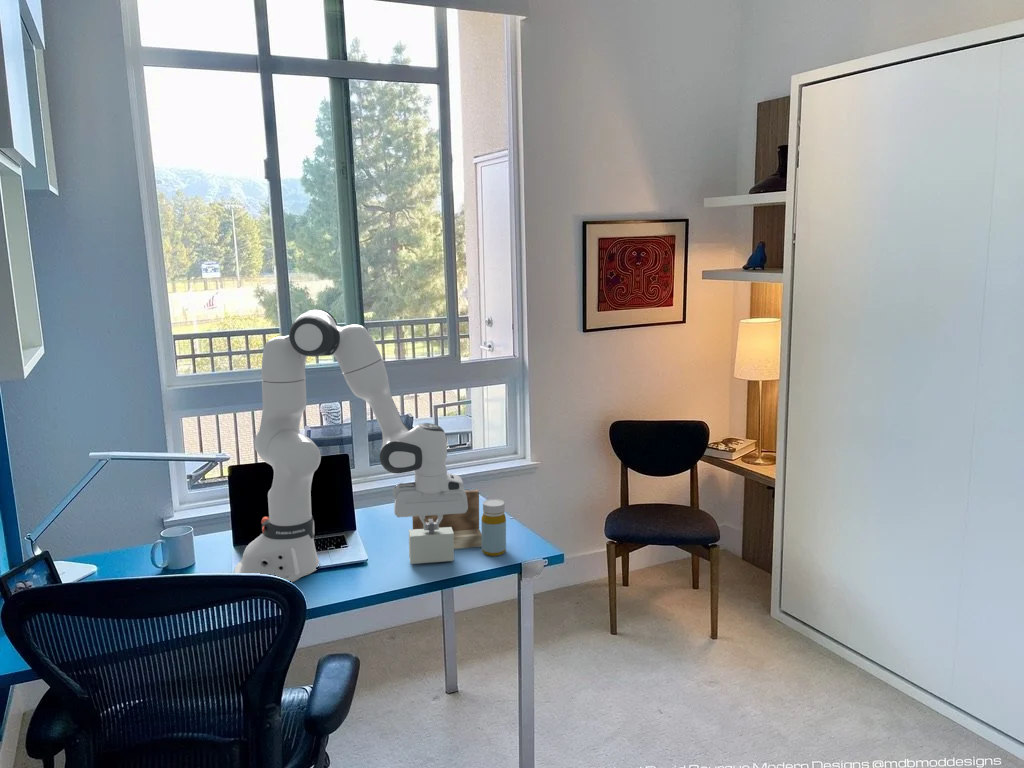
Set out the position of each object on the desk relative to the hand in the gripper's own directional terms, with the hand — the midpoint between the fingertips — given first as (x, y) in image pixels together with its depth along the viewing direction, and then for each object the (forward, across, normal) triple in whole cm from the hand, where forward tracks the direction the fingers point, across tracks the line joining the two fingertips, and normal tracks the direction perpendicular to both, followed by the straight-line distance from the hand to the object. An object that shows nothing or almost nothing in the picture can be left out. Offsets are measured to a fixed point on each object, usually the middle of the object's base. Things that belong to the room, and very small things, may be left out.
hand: (431, 529), depth 211 cm
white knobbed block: (+9, 0, 0) cm, 9 cm away
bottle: (+10, +18, +3) cm, 21 cm away
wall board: (+10, +6, +12) cm, 17 cm away
